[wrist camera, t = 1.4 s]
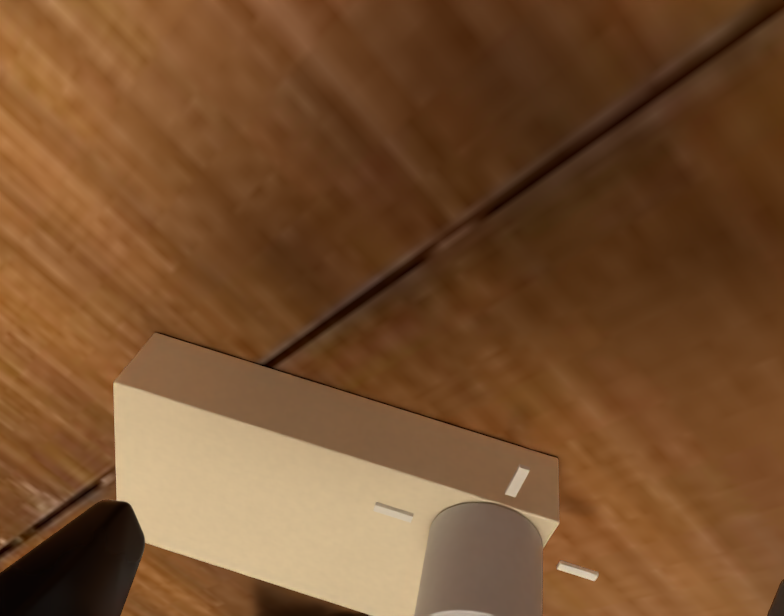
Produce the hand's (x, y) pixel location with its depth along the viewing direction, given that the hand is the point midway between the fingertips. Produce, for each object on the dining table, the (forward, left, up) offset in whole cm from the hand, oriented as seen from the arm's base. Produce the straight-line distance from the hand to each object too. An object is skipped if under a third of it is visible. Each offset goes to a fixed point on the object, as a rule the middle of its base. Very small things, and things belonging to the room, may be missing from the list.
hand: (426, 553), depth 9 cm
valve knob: (-4, +11, -9) cm, 15 cm away
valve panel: (+1, +13, -13) cm, 18 cm away
